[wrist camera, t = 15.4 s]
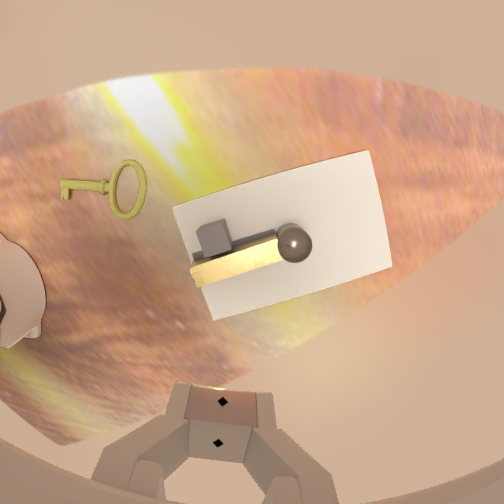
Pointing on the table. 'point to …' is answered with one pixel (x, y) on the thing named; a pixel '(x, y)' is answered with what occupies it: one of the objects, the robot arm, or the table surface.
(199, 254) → the lock plate
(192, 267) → the swing arm
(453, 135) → the table surface
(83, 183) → the key
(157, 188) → the table surface
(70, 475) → the robot arm
